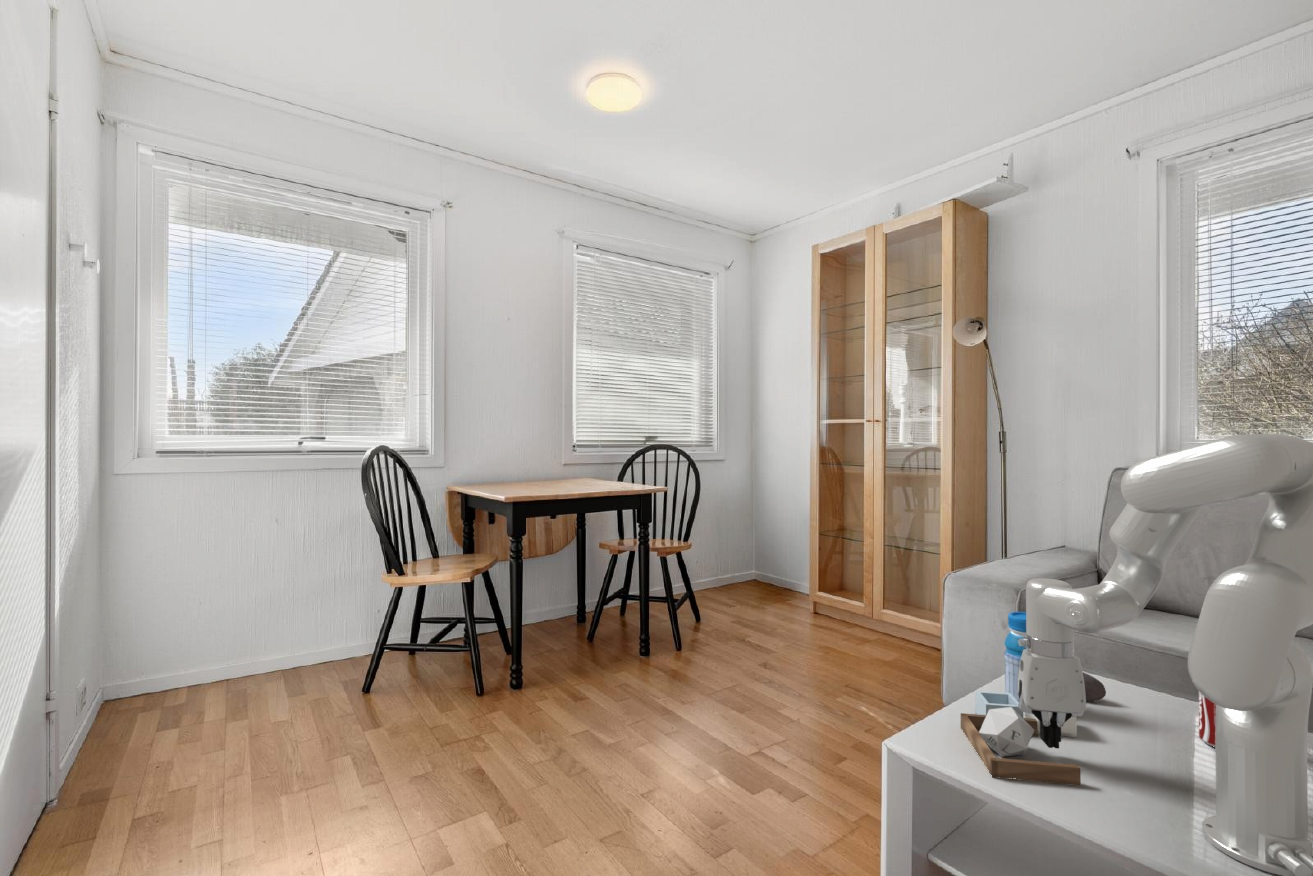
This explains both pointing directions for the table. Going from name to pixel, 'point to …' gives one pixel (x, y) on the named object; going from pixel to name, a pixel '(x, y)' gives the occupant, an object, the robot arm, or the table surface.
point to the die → (1006, 731)
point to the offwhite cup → (1066, 730)
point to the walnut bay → (1017, 767)
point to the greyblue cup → (994, 702)
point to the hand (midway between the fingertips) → (1050, 744)
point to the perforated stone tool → (1093, 688)
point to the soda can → (1207, 720)
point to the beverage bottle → (1014, 651)
